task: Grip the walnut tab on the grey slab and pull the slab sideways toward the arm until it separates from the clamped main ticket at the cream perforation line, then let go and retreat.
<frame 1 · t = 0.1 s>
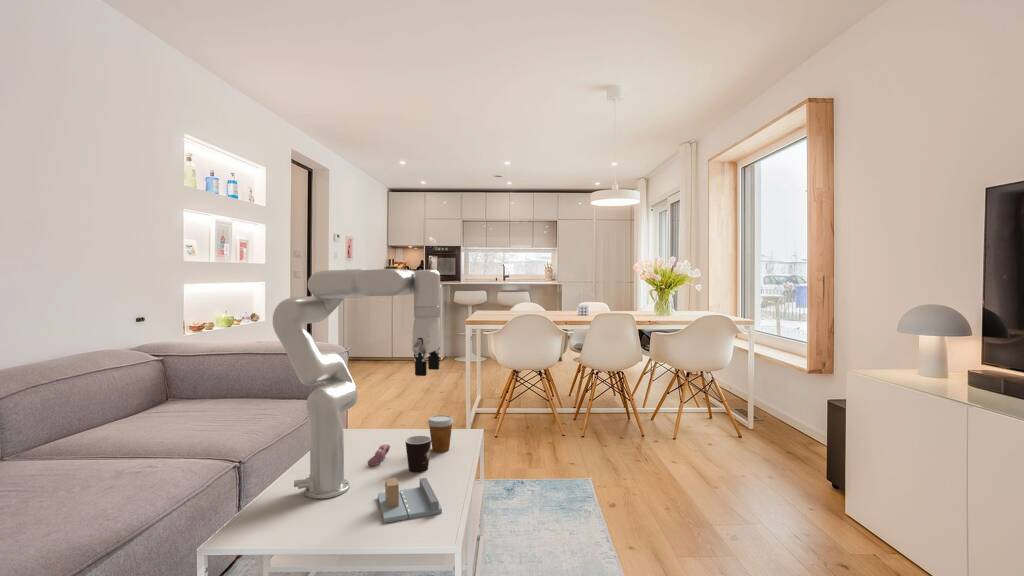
hand: (427, 372, 138), 37 cm above the table, tool pointing down, fingers open, 9 cm apart
disposable coffee cup: (440, 450, 180), on the table
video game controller: (379, 462, 169), on the table
grey slab: (391, 494, 134), point 4 cm above the table, slide at 0.0 cm
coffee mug: (421, 468, 163), on the table
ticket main: (419, 503, 137), on the table
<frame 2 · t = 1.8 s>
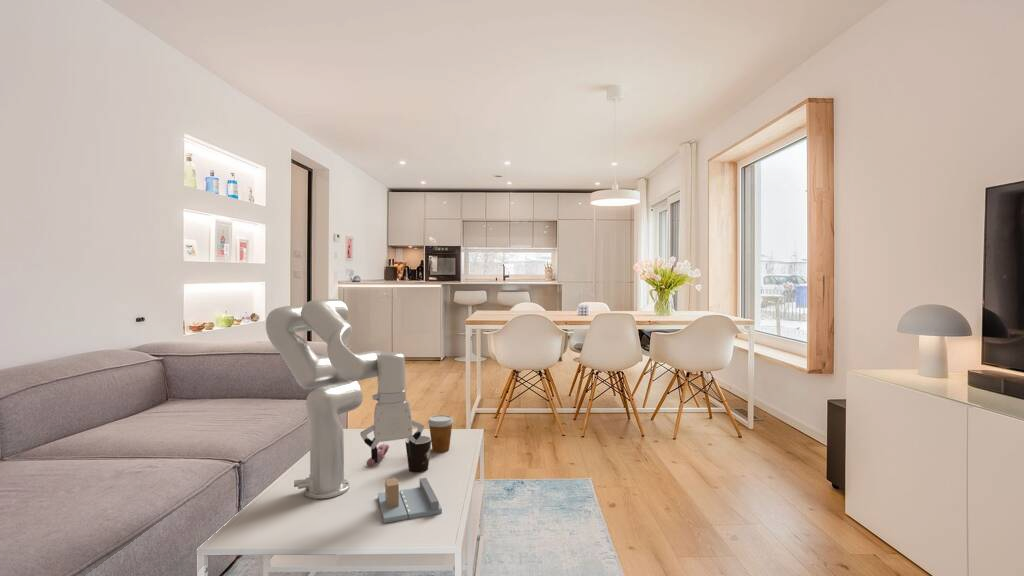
hand: (393, 458, 133), 14 cm above the table, tool pointing down, fingers open, 9 cm apart
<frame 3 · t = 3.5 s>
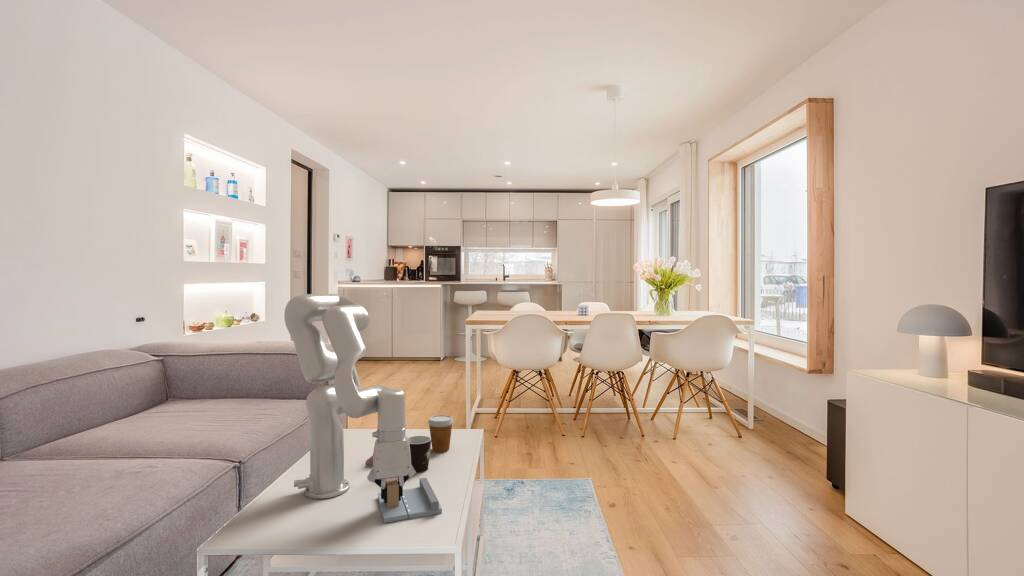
hand: (391, 499, 134), 2 cm above the table, tool pointing down, fingers closed on grey slab, 3 cm apart
grey slab: (391, 494, 134), point 4 cm above the table, slide at 0.0 cm, touching gripper
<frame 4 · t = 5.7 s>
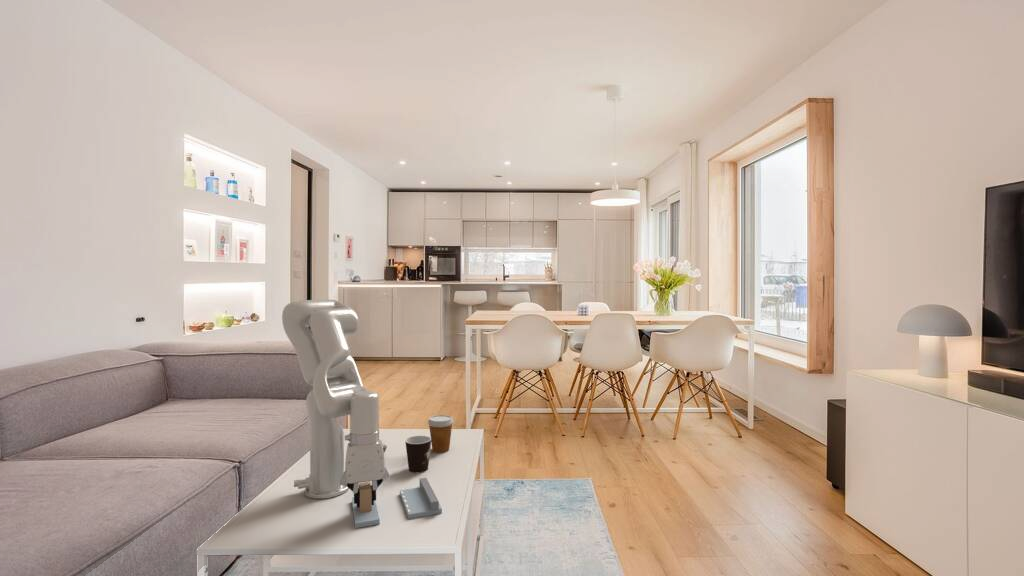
hand: (365, 503, 131), 2 cm above the table, tool pointing down, fingers closed on grey slab, 3 cm apart
grey slab: (365, 499, 131), point 4 cm above the table, slide at 7.2 cm, touching gripper
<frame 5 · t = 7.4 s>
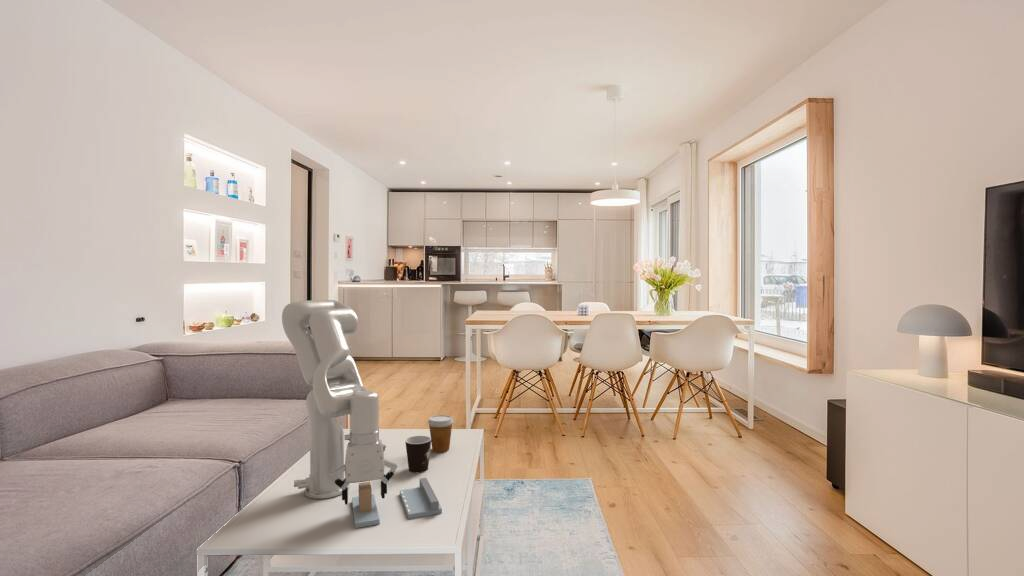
hand: (364, 499, 131), 4 cm above the table, tool pointing down, fingers open, 9 cm apart
grey slab: (365, 499, 131), point 4 cm above the table, slide at 7.2 cm
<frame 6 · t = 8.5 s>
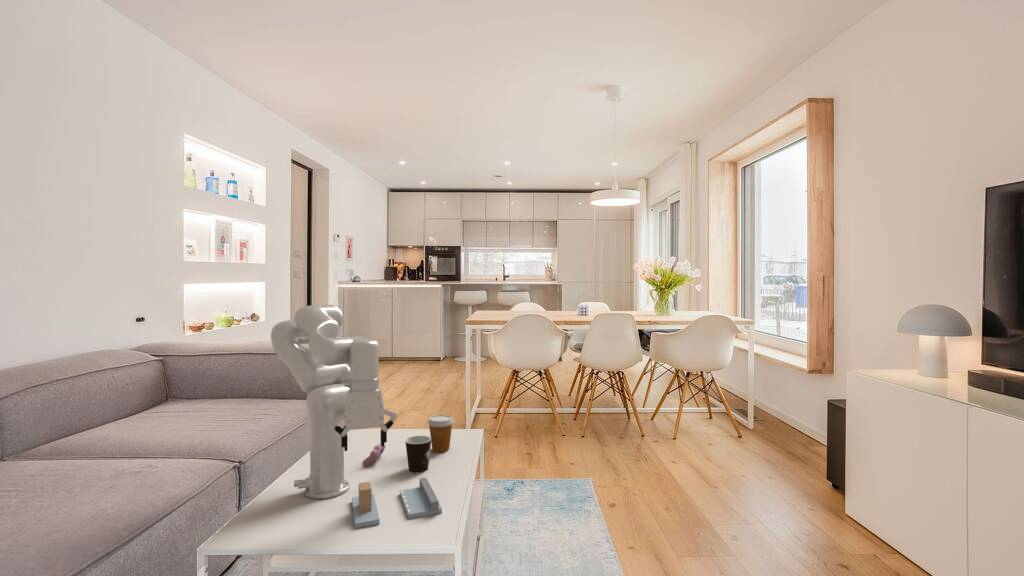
hand: (364, 447, 131), 18 cm above the table, tool pointing down, fingers open, 9 cm apart
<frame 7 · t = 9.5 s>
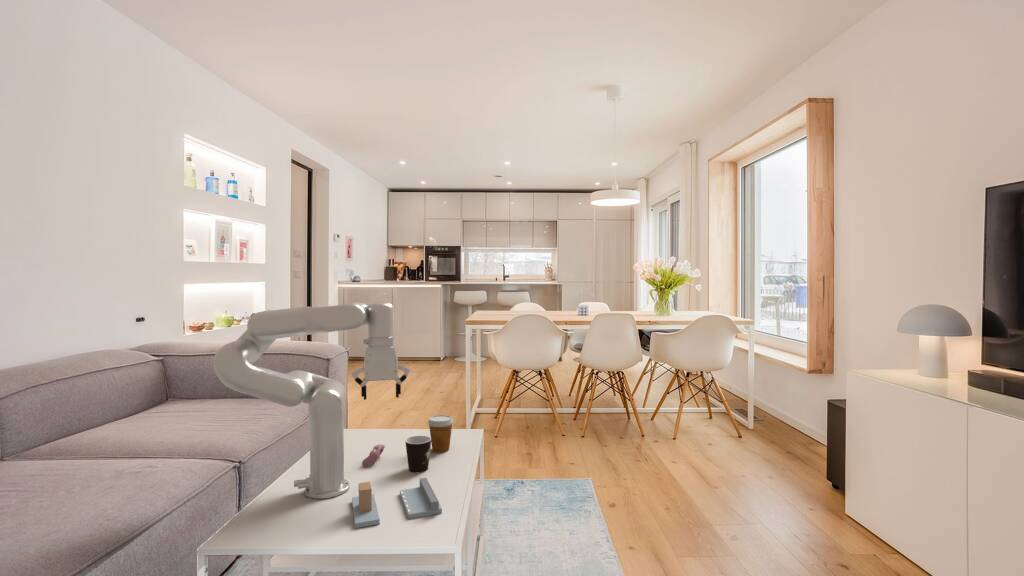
hand: (381, 397, 149), 27 cm above the table, tool pointing down, fingers open, 9 cm apart
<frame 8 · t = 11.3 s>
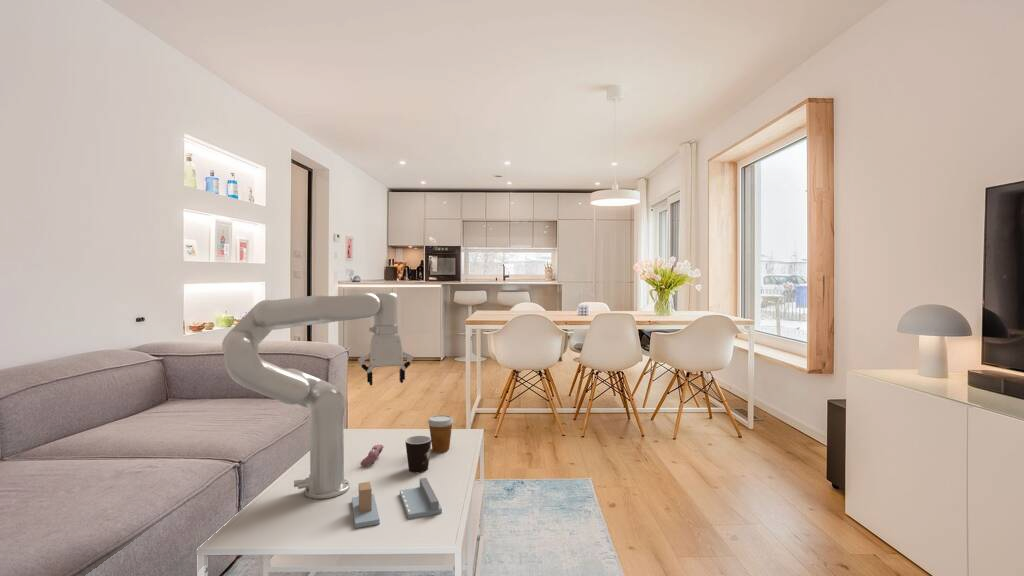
hand: (386, 383, 155), 30 cm above the table, tool pointing down, fingers open, 9 cm apart
at the end: grey slab slide at 7.2 cm; the gripper is holding nothing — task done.
